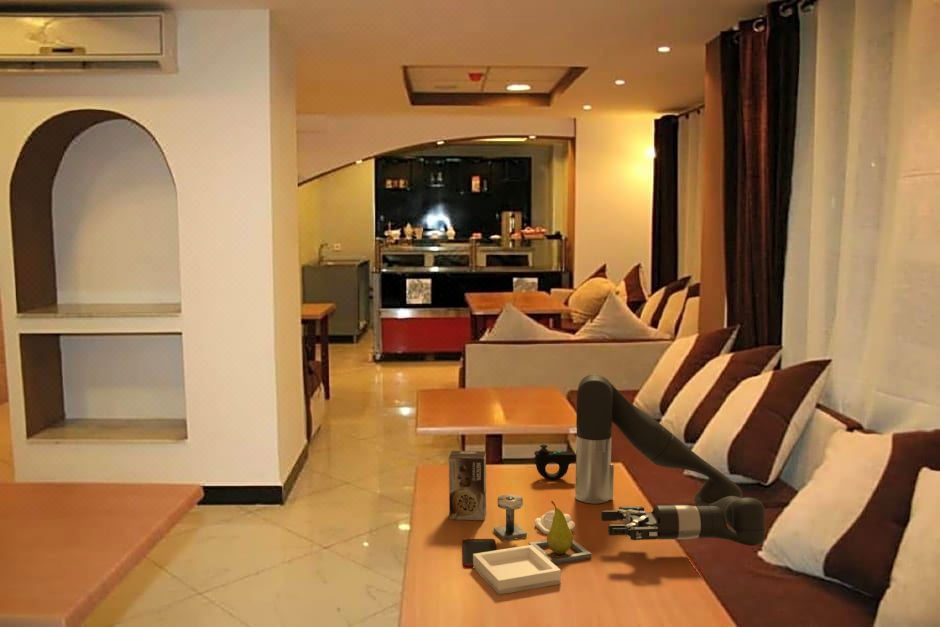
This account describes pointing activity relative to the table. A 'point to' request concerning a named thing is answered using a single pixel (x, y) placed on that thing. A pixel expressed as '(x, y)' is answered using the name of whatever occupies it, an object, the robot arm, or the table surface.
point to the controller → (553, 456)
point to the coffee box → (467, 485)
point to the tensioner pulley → (510, 517)
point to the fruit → (559, 533)
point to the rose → (551, 521)
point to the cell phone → (475, 549)
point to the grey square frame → (566, 558)
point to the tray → (516, 569)
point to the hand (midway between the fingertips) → (604, 522)
